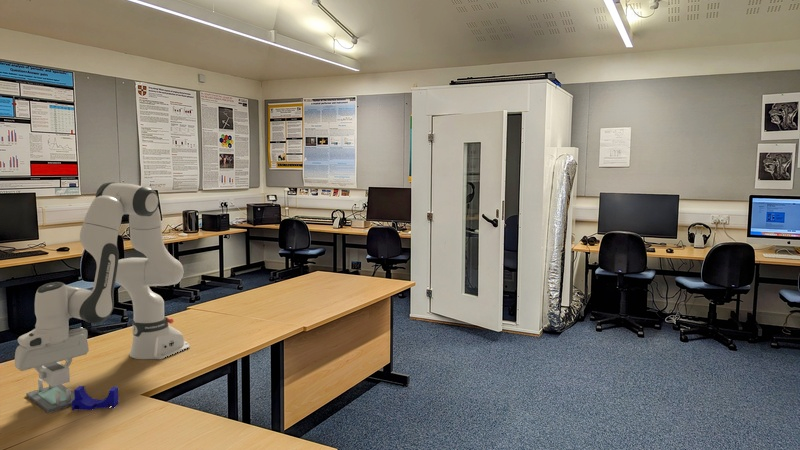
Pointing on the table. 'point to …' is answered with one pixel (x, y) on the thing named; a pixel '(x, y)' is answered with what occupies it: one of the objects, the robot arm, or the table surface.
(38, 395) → the pin tray
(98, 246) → the robot arm
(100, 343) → the table surface
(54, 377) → the block
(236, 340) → the table surface
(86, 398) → the cable clip
